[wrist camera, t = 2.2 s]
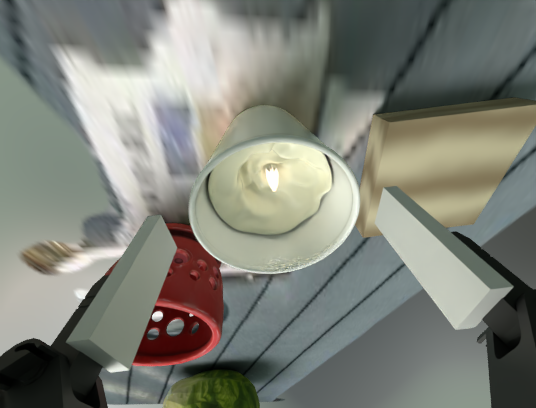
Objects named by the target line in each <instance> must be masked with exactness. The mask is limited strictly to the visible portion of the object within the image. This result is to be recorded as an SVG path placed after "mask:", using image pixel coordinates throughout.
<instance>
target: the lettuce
mask: <svg viewBox="0 0 536 408" xmlns="http://www.w3.org/2000/svg"><path fill="white" fill-rule="evenodd" d="M163 408H260V404H259V399H258V396H257V393H256V389H255V387H254V385H253V384H252V383H251V382H250V381H249V379H248V378H246V377H245V376H243V375H242V374H240V373H239V372H237V371H233V370H226V369H215V370H209V371H205V372H201V373H198V374H196V375H194V376H192V377H189V378H185V379H182V380H180V381H178V382H177V383H175V384H174V385H173V386H172V387H171V389H170V391H169V392H168V394H167V396H166V398H165V400H164V404H163Z"/></svg>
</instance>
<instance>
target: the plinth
mask: <svg viewBox="0 0 536 408" xmlns="http://www.w3.org/2000/svg"><path fill="white" fill-rule="evenodd" d="M535 126H536V101H534V100H528V99H521V98H515V97H514V98H505V99H497V100H489V101H481V102H473V103H464V104H456V105H448V106H440V107H432V108H423V109H415V110H407V111H399V112H391V113H382V114H374V115H373V118H372V123H371V129H370V134H369V140H368V145H367V151H366V156H365V162H364V167H363V173H362V178H361V184H360V189H359V191H360V210H359V214H358V218H357V220H356V223H355V225H356V227H357V229H358V230H359V232H360V233H361V235H362V237H371V236H379V235H383V234H382V233H381V231H380V230H379V229H378V227H377V226H376V225H375V219H376V215H377V211H378V207H379V203H380V199H381V195H382V191H383V187H391V186H397V187H398V188H400V189H401V190H402V191H403V192H404V193H405V194H407V195H408V196H409V197H410V198H411V199H412V200H414V201H415V202H416V203H417V204H418V205H419V206H421V207H422V208H423V209H424V210H425V211H426V212H428V213H429V214H430V215H431V216H432V217H433V218H435V219H436V220H437V221H438V222H439V223H440V224H442V225H443V226H444V227H445V228H446V227H454V226H462V225H471V224H474V223H475V221H476V220H477V218H478V216H479V215H480V213H481V212H482V210H483V208H484V207H485V205H486V204H487V202H488V200H489V199H490V197H491V196H492V194H493V193H494V191H495V189H496V188H497V186H498V185H499V183H500V181H501V180H502V178H503V177H504V175H505V173H506V172H507V170H508V169H509V167H510V165H511V164H512V162H513V161H514V159H515V158H516V156H517V154H518V153H519V151H520V150H521V148H522V146H523V145H524V143H525V142H526V140H527V138H528V137H529V135H530V134H531V132H532V130H533V129H534V127H535Z"/></svg>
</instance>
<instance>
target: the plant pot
mask: <svg viewBox="0 0 536 408" xmlns="http://www.w3.org/2000/svg"><path fill="white" fill-rule="evenodd" d="M166 226H167V228H168V230H169V232H170V234H171V236H172V238H173V240H174V242H175V244H176V246H177V250H176V252H175V255H174V257H173V260H172V263H171V265H170V268H169V270H168V273H167V275H166V278H165V281H164V283H163V286H162V288H161V291H160V293H159V296H158V299H157V301H156V304H155V306H154V309H153V311H152V314H151V317H150V319H149V322H148V324H147V327H146V329H145V332H144V335H143V337H142V340H141V342H140V345H139V347H138V350H137V353H136V355H135V358H134V360H133V363H132V365H136V366H165V365H174V364H180V363H184V362H187V361H191V360H194V359H196V358H199V357H201V356H203V355H205V354H206V353H208V352H209V351H211V350H212V349H213V348H214V347H215V346H216V345H217V344H218V343H219V341H220V338H221V335H222V324H223V309H224V308H223V284H222V277H221V273H220V269H219V268H220V265H221V261H219V260H217V259H216V258H215V257H213V256H212V255H211V254H209V253H208V252H207V251H206V250H205V249H204V248H203V247H202V245H201V244H200V243H199V241H198V240H197V238H196V237H195V235H194V233H193V230H192V228H191V226H189V225H185V224H178V223H166ZM119 260H120V259H119ZM119 260H118V261H119ZM118 261H117V262H116V263H115V264H114V265H113V266H112V267H111V268H110V269H109V270H108V271H107V272H106V274H105V275H110V274H111V272H112V271H113V269H114V268H115V266H116V264H117V263H118ZM105 275H104V276H105ZM156 311H160V312H162V313H163V318H162V320H160V321H158V322H155V321H153V320H152V315H153V313H154V312H156ZM190 313H191V314H193V316H192V317H190V316H189V314H190ZM175 319H181V320H182V321H183V322H184V328H183V330H182V332H181V333H180V334H179V335H177V336H174V337H172V336H170V335H168V334H167V331H166V329H167V326H168V324H169V323H170V322H171V321H173V320H175ZM196 324H199V328H198V330H197V332H196V333H194V334H192V333H191V331H192V328H193V327H194V325H196ZM151 329H157V330H158V332H159V335H158V337H157V338H156V339H154V340H150V339H148V338H147V333H148V331H149V330H151Z"/></svg>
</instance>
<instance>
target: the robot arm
mask: <svg viewBox="0 0 536 408" xmlns="http://www.w3.org/2000/svg"><path fill="white" fill-rule="evenodd" d="M375 225H376V226H377V227H378V229H379V230H380V231H381V233H382V234H383V235H384V236H385V238H386V239H387V240H388V242H389V243H390V244H391V246H392V247H393V248H394V250H395V251H396V252H397V253H398V255H399V256H400V257H401V259H402V260H403V261H404V263H405V264H406V265H407V267H408V268H409V269H410V271H411V272H412V273H413V274H414V276H415V277H416V278H417V280H418V281H419V282H420V284H421V285H422V286H423V288H424V289H425V290H426V291H427V293H428V294H429V295H430V297H431V298H432V299H433V301H434V302H435V303H436V305H437V306H438V307H439V309H440V310H441V311H442V312H443V313H444V315H445V316H446V318H447V319H448V320H449V321H450V323H451V324H452V326H453V327H454V328H455V329H456V330H458V329H466V328H474V327H476V326H477V325H478V324H479V322H480V321H481V320H483V321H484V322H485V323H486V324H487V325H488V326H489V327H488V328H487V329H486V330H485V331H484V332H483V333H482V334H481V335H480V336H479V337H478V339H477V342H478V343H482V342H483V341H484V340H485V339H486V340H487V345H486V347H487V353H488V367H489V380H490V393H491V407H492V408H536V289H534V290H533V289H532V288H530V287H529V286H528V285H526V284H525V283H524V282H523V281H521V280H520V279H519V278H518V277H517V276H515V275H514V274H513V273H512V272H510V271H509V270H508V269H507V268H505V267H504V266H503V265H502V264H501V263H499V262H498V261H497V260H496V259H494V258H493V257H490V255H489V254H488V253H487V252H486V251H484V250H483V249H481V247H480V246H478V245H477V244H476V243H475V242H473V241H472V240H471V239H470V238H468V237H466V236H464V235H462V234H460V233H458V232H450V231H449V230H447V229H446V228H445V227H444V226H443V225H442V224H440V223H439V222H438V221H437V220H436V219H435V218H433V217H432V216H431V215H430V214H429V213H428V212H426V211H425V210H424V209H423V208H422V207H421V206H419V205H418V204H417V203H416V202H415V201H414V200H412V199H411V198H410V197H409V196H408V195H407V194H405V193H404V192H403V191H402V190H401V189H400V188H398V187H397V186H391V187H383V191H382V195H381V199H380V203H379V207H378V211H377V215H376V219H375ZM176 250H177V246H176V244H175V242H174V240H173V238H172V236H171V234H170V232H169V230H168V228H167V226H166V224H165V222H164V220H163V218H162V216H161V215H156V216H148V217H147V219H146V220H145V222H144V223H143V225H142V226H141V228H140V229H139V231H138V232H137V234H136V235H135V237H134V239H133V240H132V242H131V243H130V245H129V246H128V248H127V249H126V251H125V252H124V254H123V255H122V257H121V258H120V260H119V261H118V263H117V264H116V266H115V268H114V269H113V271H112V272H111V274H110V275H105V276H103V277H102V278H101V279H100V280H99V281H97V282H96V283H95V284H94V285H93V286H92V288H91V289H90V291H89V292H88V293H87V295H86V296H85V299H83V301H82V302H81V303H80V305H79V306H78V307H79V308H78V309H76V311H75V312H74V313H73V315H72V316H71V318H70V319H69V321H68V322H67V324H66V325H65V327H64V328H63V330H62V331H61V332H60V334H59V335H58V337H57V338H56V339H55V341H54V342H53V344H52V345H51V346H49V345H47V344H46V343H44V342H42V341H41V340H38V339H34V338H33V339H29V340H25V341H23V342H21V343H19V344H17V345H15V346H13V347H12V348H11V349H9V350H8V351H6V352H5V353H4V354H3V355H2V356H0V408H108V406H107V402H106V397H105V393H104V388H103V384H102V380H101V379H100V377H99V376H98V375H99V373H100V371H101V369H102V367H103V368H105V369H106V370H108V371H109V372H119V371H127V370H130V368H131V365H132V363H133V360H134V358H135V355H136V353H137V350H138V347H139V345H140V342H141V340H142V337H143V335H144V332H145V329H146V327H147V324H148V322H149V319H150V317H151V314H152V311H153V309H154V306H155V304H156V301H157V299H158V296H159V293H160V291H161V288H162V286H163V283H164V281H165V278H166V275H167V273H168V270H169V268H170V265H171V263H172V260H173V257H174V255H175V252H176Z"/></svg>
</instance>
